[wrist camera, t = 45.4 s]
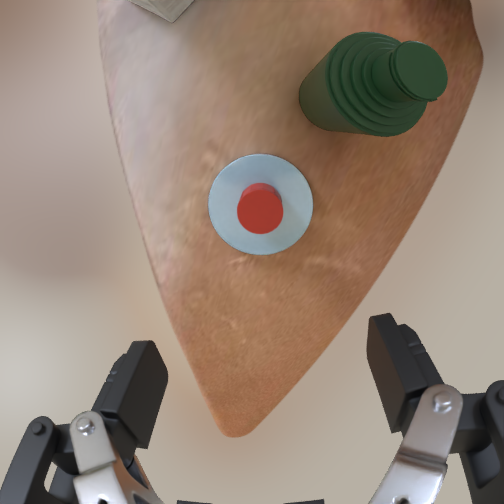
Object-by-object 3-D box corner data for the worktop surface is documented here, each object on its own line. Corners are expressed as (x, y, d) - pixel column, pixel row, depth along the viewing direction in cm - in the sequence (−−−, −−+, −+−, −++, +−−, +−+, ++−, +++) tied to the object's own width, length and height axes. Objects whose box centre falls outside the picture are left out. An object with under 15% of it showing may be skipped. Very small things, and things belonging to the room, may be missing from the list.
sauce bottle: (287, 80, 24) (322, 16, 8) (348, 59, 22) (442, -2, 7) (315, 140, 26) (388, 164, 10) (374, 119, 25) (493, 125, 9)
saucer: (200, 163, 27) (198, 164, 26) (305, 147, 26) (306, 147, 25) (220, 258, 31) (219, 261, 30) (316, 245, 30) (317, 248, 29)
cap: (236, 185, 27) (233, 193, 24) (278, 179, 27) (280, 186, 24) (243, 225, 29) (241, 237, 26) (283, 219, 28) (285, 231, 25)
